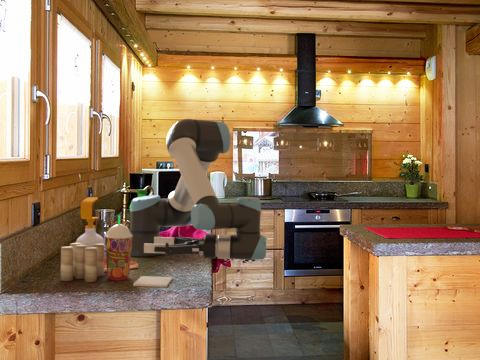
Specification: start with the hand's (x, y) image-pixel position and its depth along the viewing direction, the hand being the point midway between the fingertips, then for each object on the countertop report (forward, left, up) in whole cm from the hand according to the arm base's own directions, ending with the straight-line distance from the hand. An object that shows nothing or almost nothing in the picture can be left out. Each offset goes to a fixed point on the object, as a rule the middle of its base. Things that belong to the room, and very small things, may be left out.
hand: (149, 244), depth 148 cm
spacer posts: (0, -21, -11) cm, 23 cm away
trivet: (+3, +2, -11) cm, 12 cm away
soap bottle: (-11, -23, -11) cm, 28 cm away
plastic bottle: (-61, -18, -11) cm, 65 cm away
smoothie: (0, -10, -11) cm, 15 cm away
